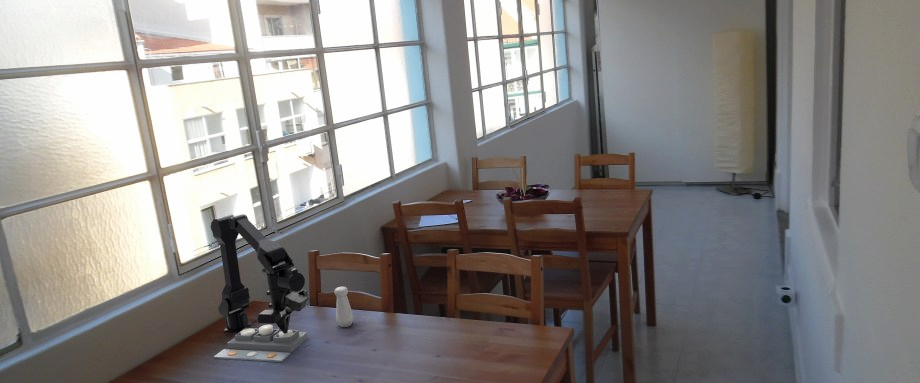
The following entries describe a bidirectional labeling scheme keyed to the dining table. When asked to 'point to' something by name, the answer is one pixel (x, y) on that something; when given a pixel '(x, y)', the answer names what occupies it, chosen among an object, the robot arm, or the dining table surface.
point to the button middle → (266, 330)
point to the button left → (247, 332)
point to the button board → (268, 341)
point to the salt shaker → (343, 308)
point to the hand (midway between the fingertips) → (285, 333)
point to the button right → (286, 334)
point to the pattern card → (252, 355)
